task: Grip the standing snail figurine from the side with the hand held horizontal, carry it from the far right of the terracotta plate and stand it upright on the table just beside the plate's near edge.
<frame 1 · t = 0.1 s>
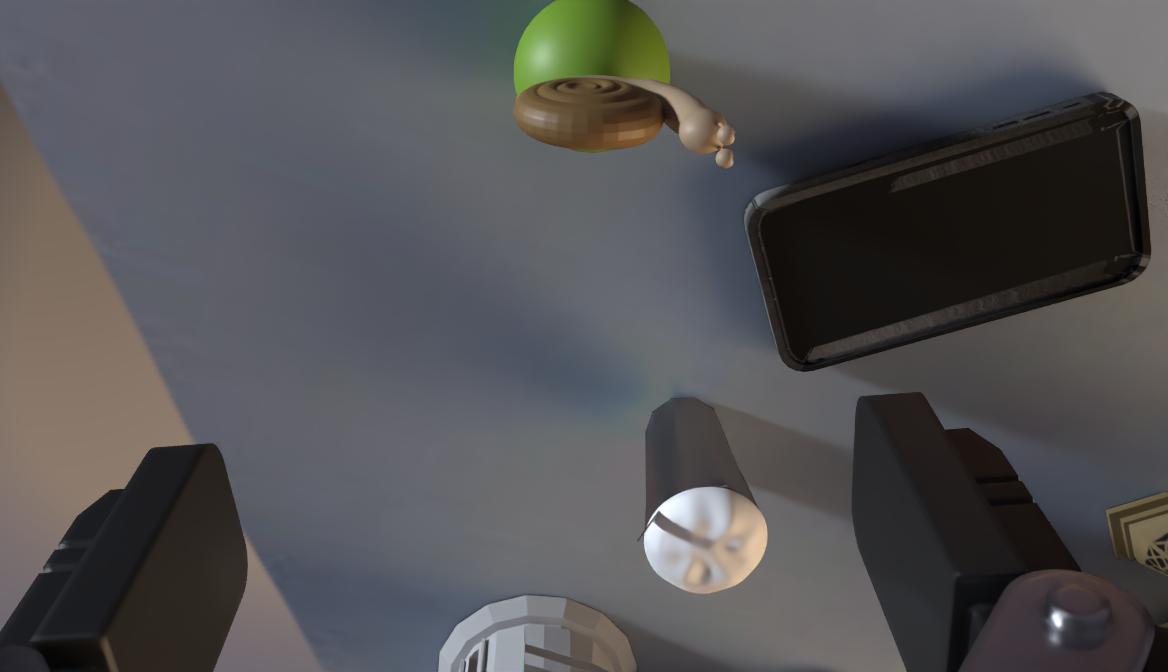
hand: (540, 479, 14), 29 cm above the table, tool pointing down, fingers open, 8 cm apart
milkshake: (674, 421, 48), on the table
phone: (940, 230, 44), on the table
french press: (523, 662, 54), on the table
snail figurine: (603, 55, 41), on the table
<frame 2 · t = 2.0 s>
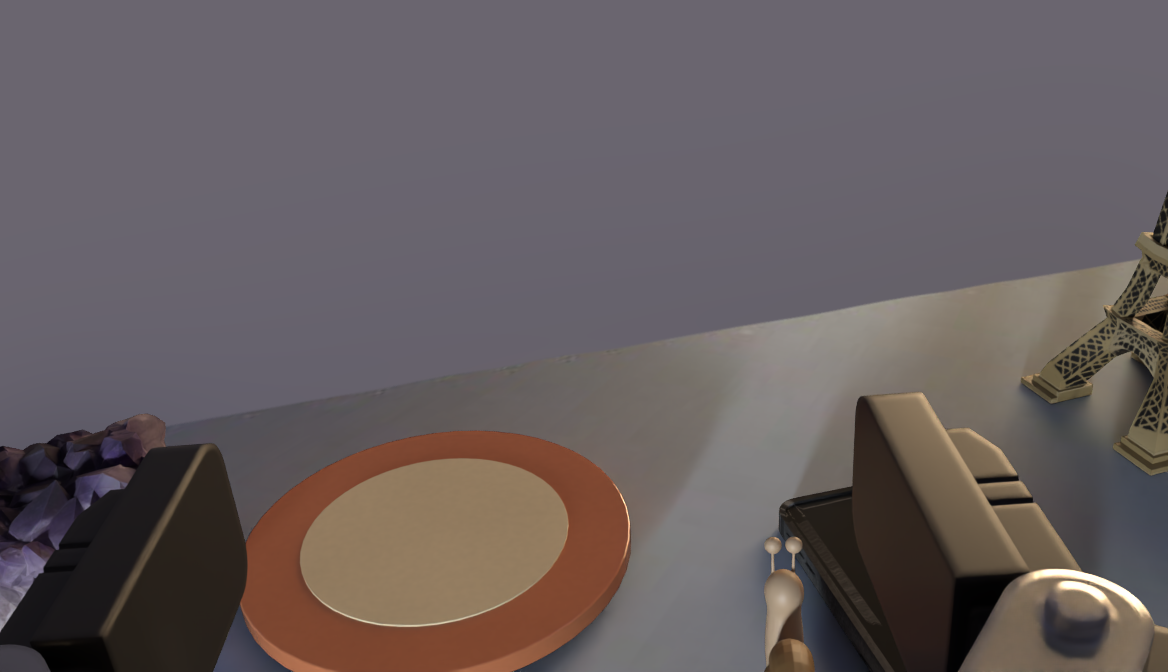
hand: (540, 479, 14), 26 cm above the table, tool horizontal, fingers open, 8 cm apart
phone: (914, 603, 49), on the table
eiffel tower: (1159, 409, 62), on the table
geode: (24, 616, 53), on the table
plate: (440, 562, 54), on the table
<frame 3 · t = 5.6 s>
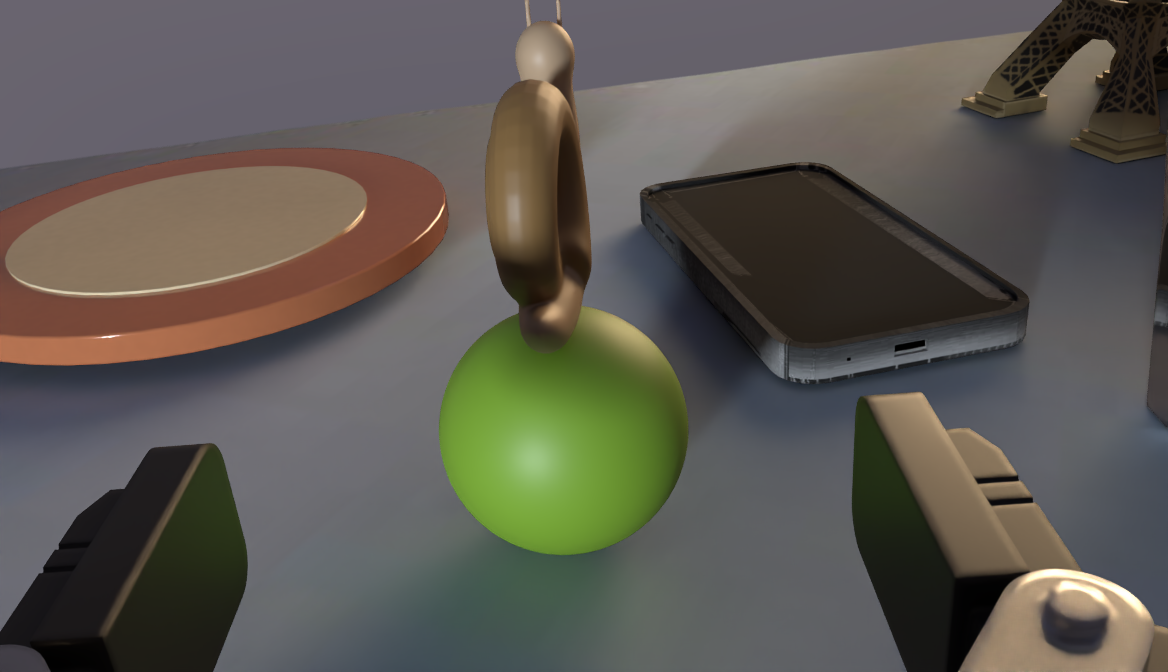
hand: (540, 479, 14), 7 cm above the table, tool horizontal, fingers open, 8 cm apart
phone: (804, 273, 37), on the table
eiffel tower: (1128, 118, 50), on the table
plate: (203, 264, 42), on the table
snail figurine: (575, 523, 26), on the table
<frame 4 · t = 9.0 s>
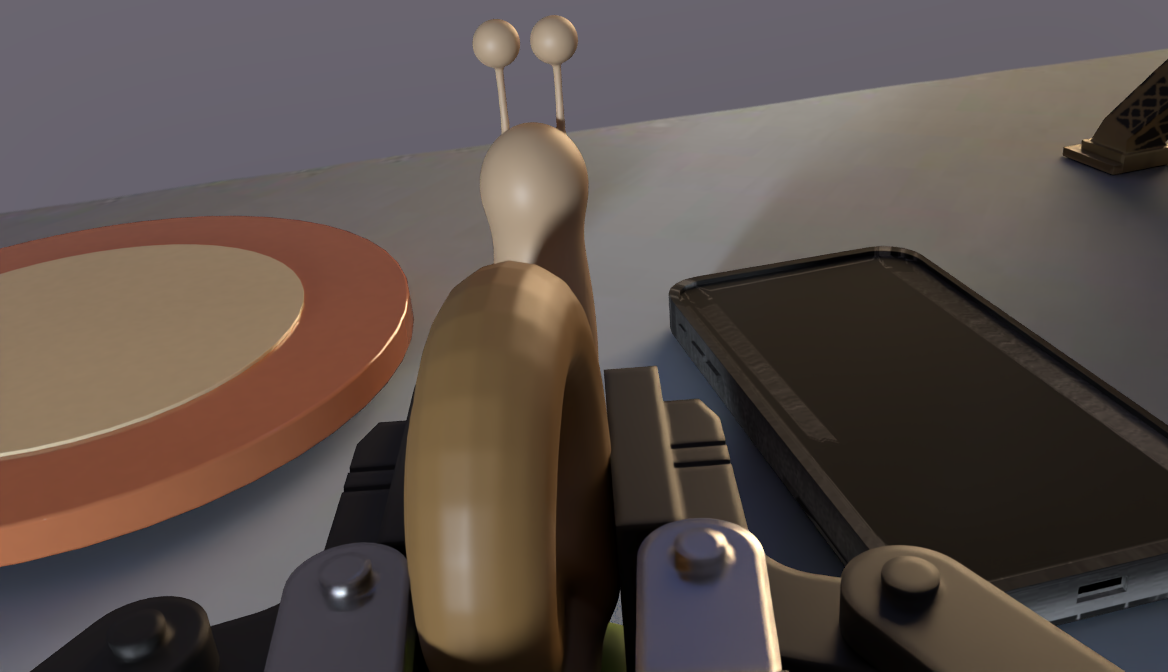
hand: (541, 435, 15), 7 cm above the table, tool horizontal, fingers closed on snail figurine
phone: (903, 422, 27), on the table
plate: (86, 388, 31), on the table
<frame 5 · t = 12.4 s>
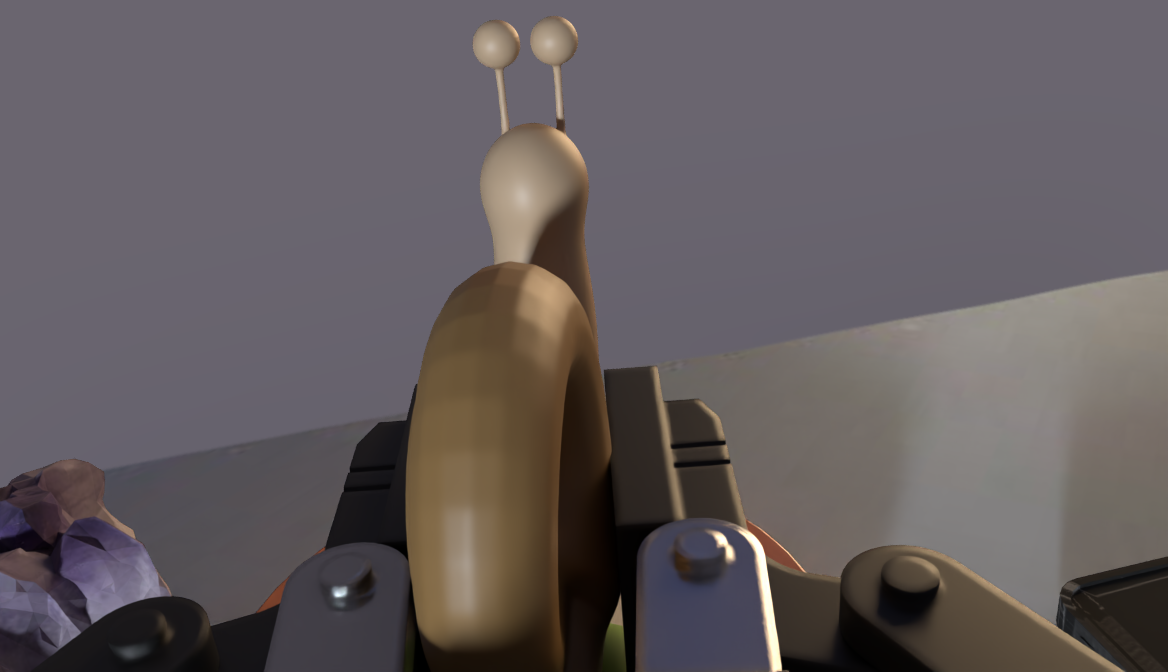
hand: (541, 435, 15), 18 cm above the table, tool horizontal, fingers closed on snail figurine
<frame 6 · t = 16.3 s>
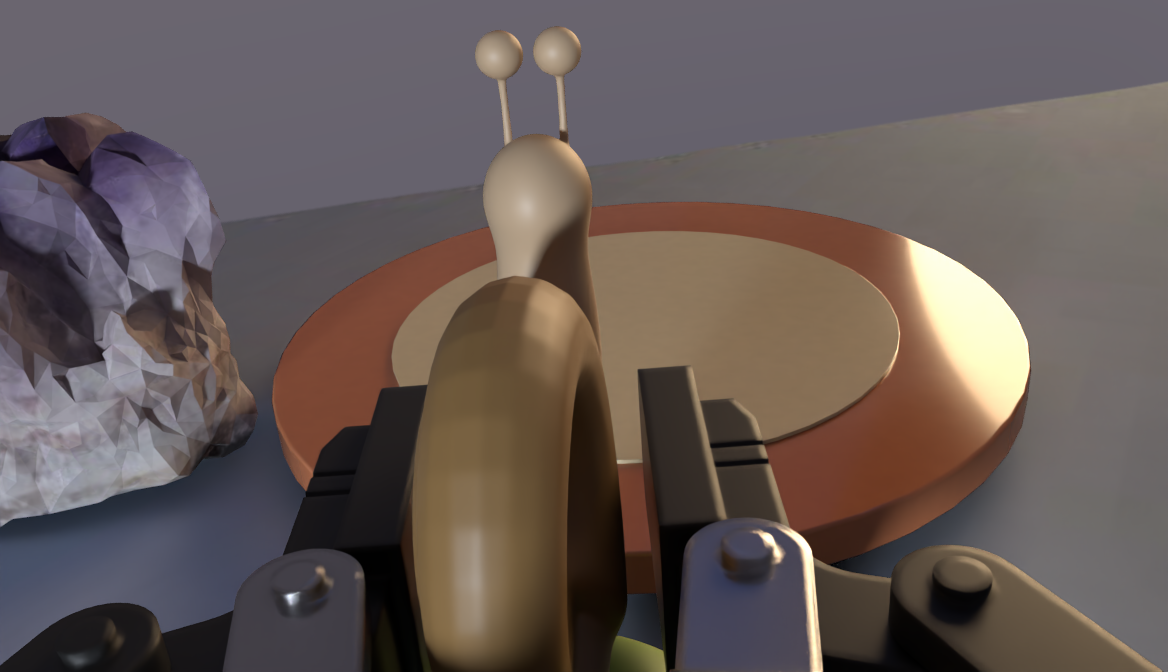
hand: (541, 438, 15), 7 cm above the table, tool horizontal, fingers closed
plate: (644, 382, 29), on the table
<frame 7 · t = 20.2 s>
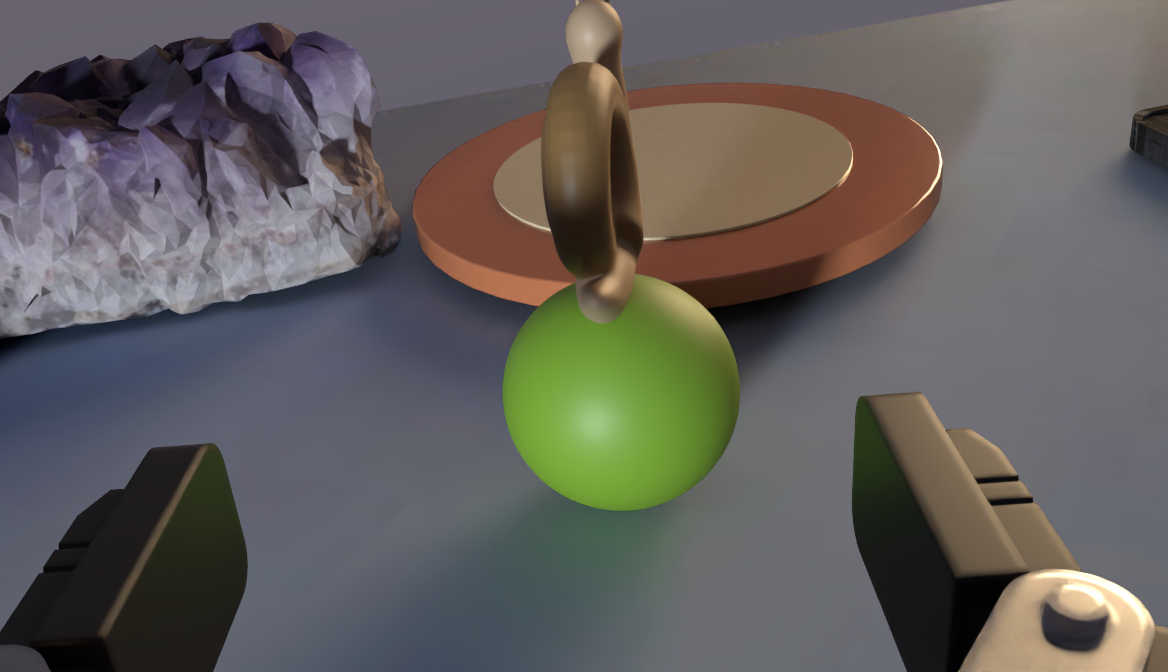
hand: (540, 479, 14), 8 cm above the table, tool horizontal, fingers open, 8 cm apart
geode: (138, 287, 41), on the table
plate: (673, 206, 41), on the table
snail figurine: (633, 479, 27), on the table
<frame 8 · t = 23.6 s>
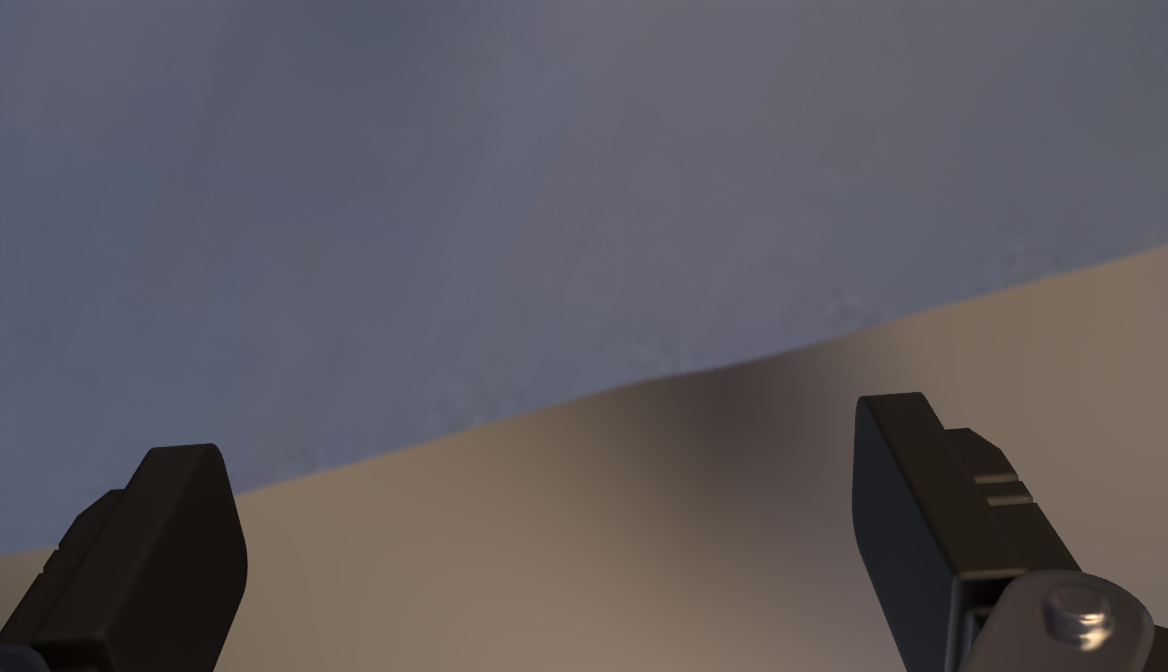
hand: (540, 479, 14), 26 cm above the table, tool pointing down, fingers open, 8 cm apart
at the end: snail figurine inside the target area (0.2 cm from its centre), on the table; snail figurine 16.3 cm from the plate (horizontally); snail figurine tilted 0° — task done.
